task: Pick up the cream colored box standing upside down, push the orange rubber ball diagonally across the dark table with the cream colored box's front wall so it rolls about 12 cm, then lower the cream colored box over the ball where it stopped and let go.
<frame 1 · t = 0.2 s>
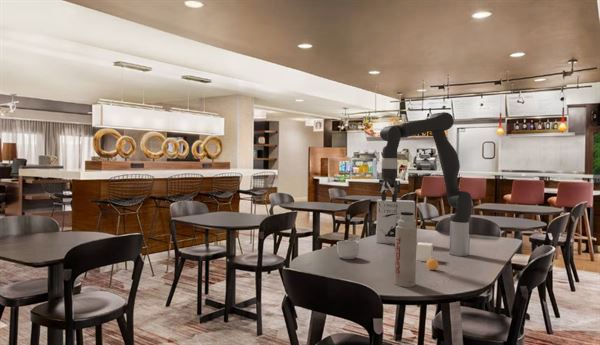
hand: (388, 201, 219), 28 cm above the table, tool pointing down, fingers open, 8 cm apart
thermos bottle: (404, 284, 176), on the table
cream colored box: (424, 259, 222), on the table
cereal box: (394, 243, 268), on the table
ball: (432, 264, 201), on the table
teacup: (347, 257, 223), on the table
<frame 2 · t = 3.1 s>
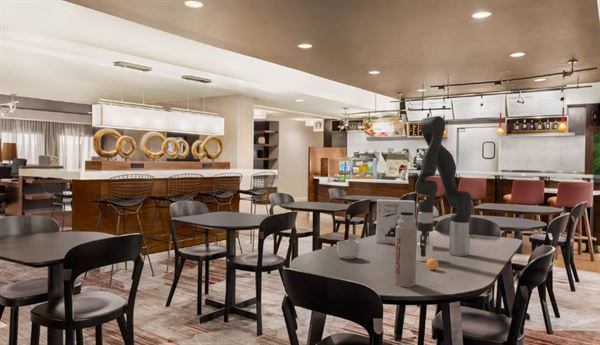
hand: (424, 254, 222), 2 cm above the table, tool pointing down, fingers closed on cream colored box, 7 cm apart
cream colored box: (424, 259, 222), on the table, touching gripper
everything else where it was.
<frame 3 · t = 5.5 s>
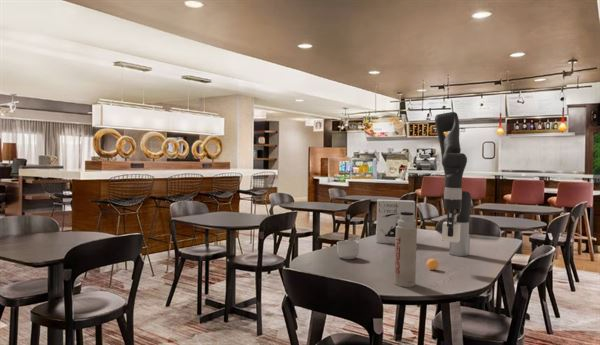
hand: (451, 235, 201), 16 cm above the table, tool pointing down, fingers closed on cream colored box, 7 cm apart
cream colored box: (450, 240, 201), point 13 cm above the table, touching gripper
everything else where it was.
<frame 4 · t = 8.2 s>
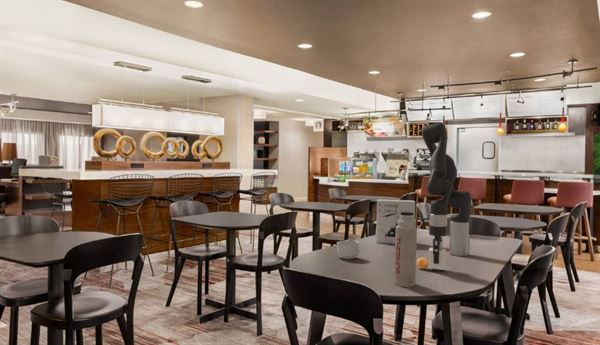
hand: (436, 261, 200), 4 cm above the table, tool pointing down, fingers closed on cream colored box, 7 cm apart
cream colored box: (436, 267, 200), point 1 cm above the table, touching gripper
ball: (422, 263, 202), on the table
everything else where it was.
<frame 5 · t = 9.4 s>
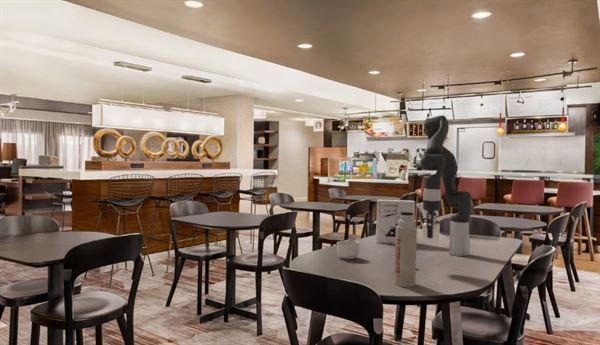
hand: (430, 236, 201), 15 cm above the table, tool pointing down, fingers closed on cream colored box, 7 cm apart
cream colored box: (430, 241, 201), point 12 cm above the table, touching gripper
ball: (407, 261, 205), on the table
everything else where it was.
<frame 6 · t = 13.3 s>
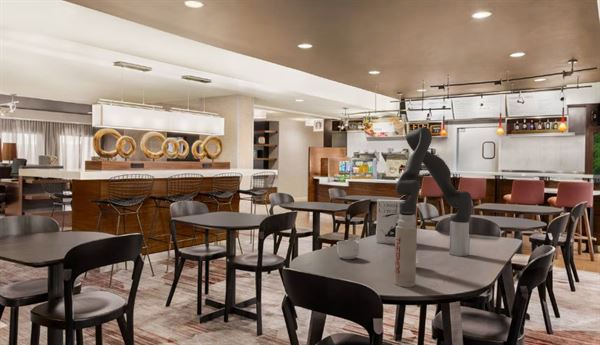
hand: (406, 260, 205), 3 cm above the table, tool pointing down, fingers closed on cream colored box, 6 cm apart
cream colored box: (410, 264, 204), point 1 cm above the table, tilted 21°, touching ball, gripper
ball: (410, 262, 204), on the table, touching cream colored box
everything else where it was.
when the fingers open (3 cm above the table, at t = 13.5 s): cream colored box drops 1 cm, on the table.
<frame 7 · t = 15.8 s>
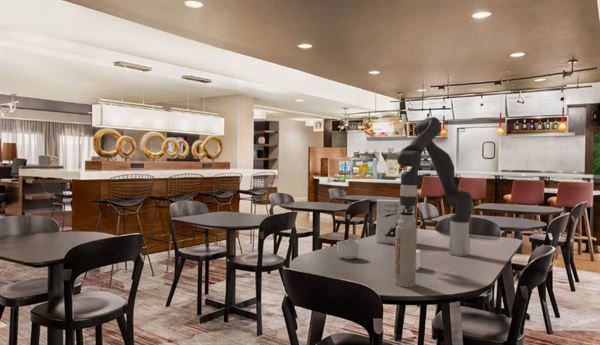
hand: (407, 230, 206), 16 cm above the table, tool pointing down, fingers open, 8 cm apart
cream colored box: (411, 267, 204), on the table
ball: (410, 262, 204), on the table
everything else where it was.
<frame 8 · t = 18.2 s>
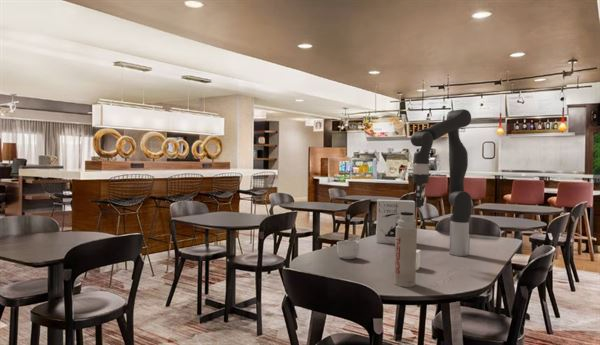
hand: (419, 206, 219), 26 cm above the table, tool pointing down, fingers open, 8 cm apart
nothing on the table moved.
at the end: ball 0.4 cm from the cream colored box (horizontally); cream colored box on the table; ball moved 9.6 cm from its start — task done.
